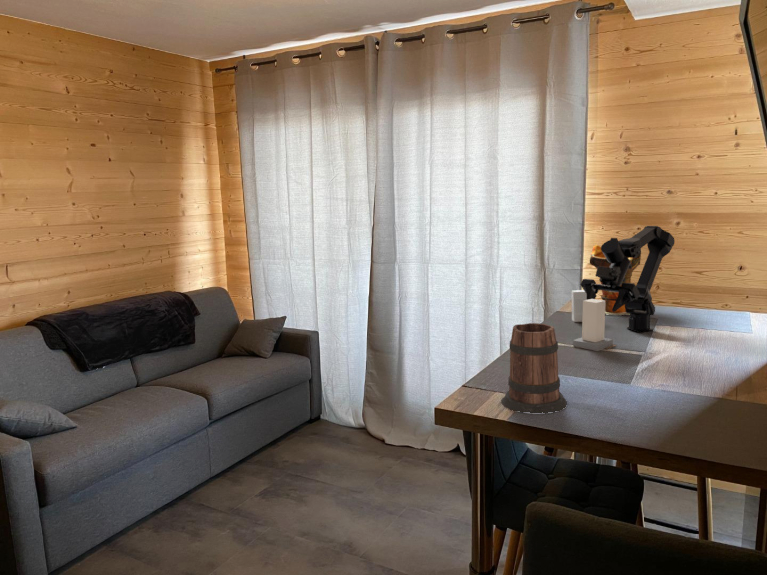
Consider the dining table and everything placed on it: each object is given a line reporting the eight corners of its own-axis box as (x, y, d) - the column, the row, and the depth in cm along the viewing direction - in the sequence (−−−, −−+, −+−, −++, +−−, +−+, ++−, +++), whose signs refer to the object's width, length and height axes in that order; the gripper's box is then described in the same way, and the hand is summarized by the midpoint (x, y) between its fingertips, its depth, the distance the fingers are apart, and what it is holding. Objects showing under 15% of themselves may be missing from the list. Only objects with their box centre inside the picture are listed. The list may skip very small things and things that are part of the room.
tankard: (561, 418, 146) (561, 337, 143) (493, 409, 154) (491, 333, 150) (577, 386, 167) (577, 315, 163) (516, 380, 174) (515, 312, 171)
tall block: (590, 336, 203) (591, 298, 201) (604, 339, 199) (605, 300, 197) (581, 339, 200) (583, 300, 198) (595, 342, 196) (596, 302, 194)
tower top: (588, 340, 206) (588, 334, 206) (612, 345, 199) (612, 339, 199) (573, 346, 201) (573, 340, 200) (597, 351, 194) (597, 345, 194)
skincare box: (586, 319, 241) (587, 289, 239) (589, 321, 237) (589, 291, 235) (571, 319, 241) (571, 290, 239) (573, 322, 237) (573, 292, 235)
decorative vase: (609, 318, 238) (608, 247, 235) (579, 310, 261) (577, 244, 257) (656, 313, 242) (656, 243, 239) (622, 305, 265) (622, 241, 261)
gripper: (583, 255, 208) (565, 292, 203) (635, 258, 194) (618, 298, 189) (595, 274, 215) (578, 311, 210) (647, 279, 201) (630, 318, 196)
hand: (599, 309), depth 201 cm, fingers open, 9 cm apart
